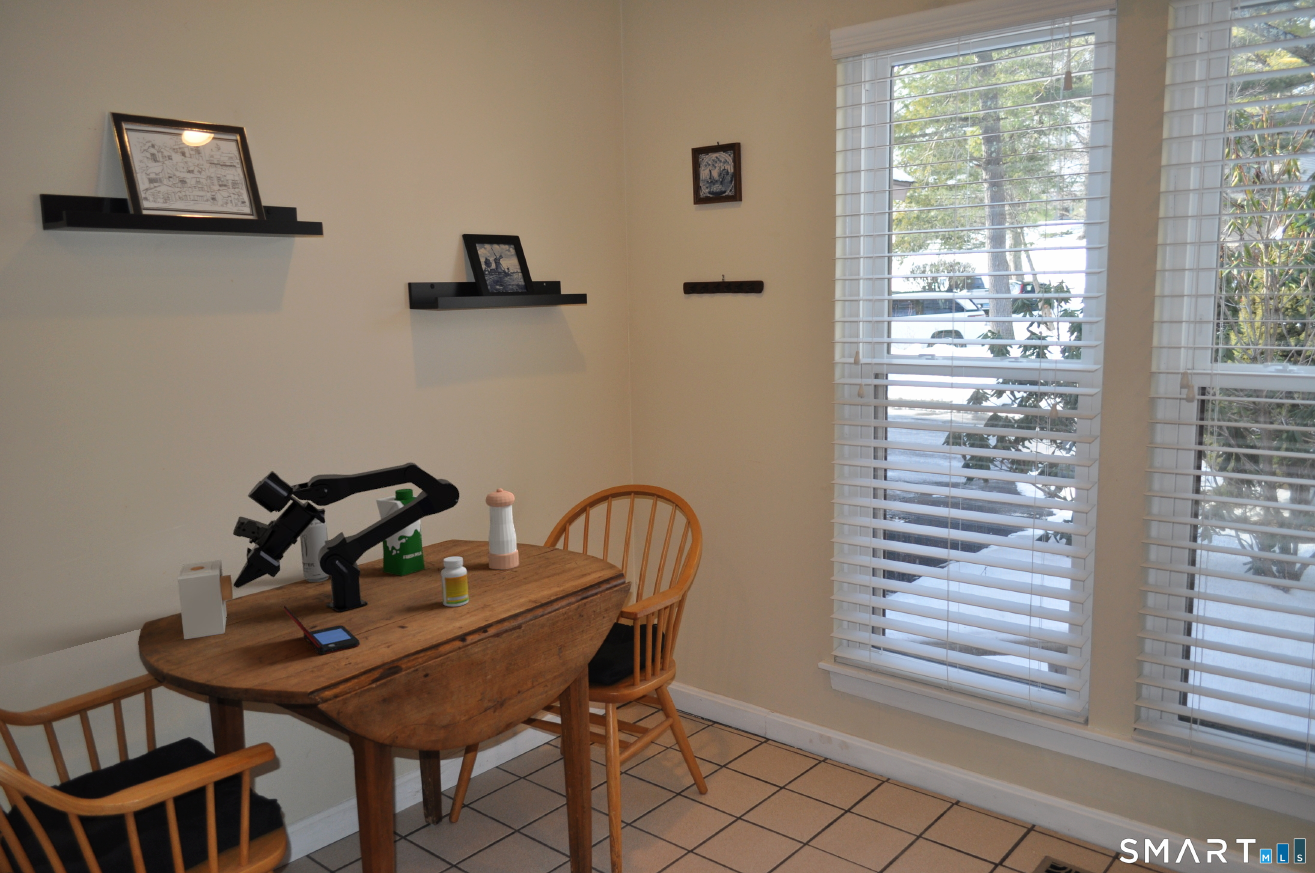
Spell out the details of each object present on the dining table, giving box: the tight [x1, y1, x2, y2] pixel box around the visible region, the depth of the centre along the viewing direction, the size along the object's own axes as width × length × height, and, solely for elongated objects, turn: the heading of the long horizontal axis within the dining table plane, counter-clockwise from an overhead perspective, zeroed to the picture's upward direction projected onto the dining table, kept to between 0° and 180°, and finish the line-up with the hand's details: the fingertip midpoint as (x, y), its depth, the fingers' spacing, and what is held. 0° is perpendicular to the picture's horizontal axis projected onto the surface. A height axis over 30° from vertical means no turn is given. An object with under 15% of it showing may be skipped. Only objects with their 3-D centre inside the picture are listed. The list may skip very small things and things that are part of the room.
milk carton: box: [375, 488, 426, 577], centre depth 214 cm, size 9×9×20 cm
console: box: [177, 559, 228, 640], centre depth 178 cm, size 7×12×12 cm, turn 24°
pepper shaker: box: [485, 487, 520, 570], centre depth 215 cm, size 7×7×19 cm
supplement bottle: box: [440, 556, 470, 608], centre depth 188 cm, size 5×5×10 cm
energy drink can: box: [299, 518, 330, 583], centre depth 209 cm, size 6×6×15 cm
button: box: [220, 574, 234, 602], centre depth 179 cm, size 4×5×5 cm
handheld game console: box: [283, 605, 361, 656], centre depth 167 cm, size 12×11×7 cm
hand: (235, 586), depth 180 cm, fingers closed
